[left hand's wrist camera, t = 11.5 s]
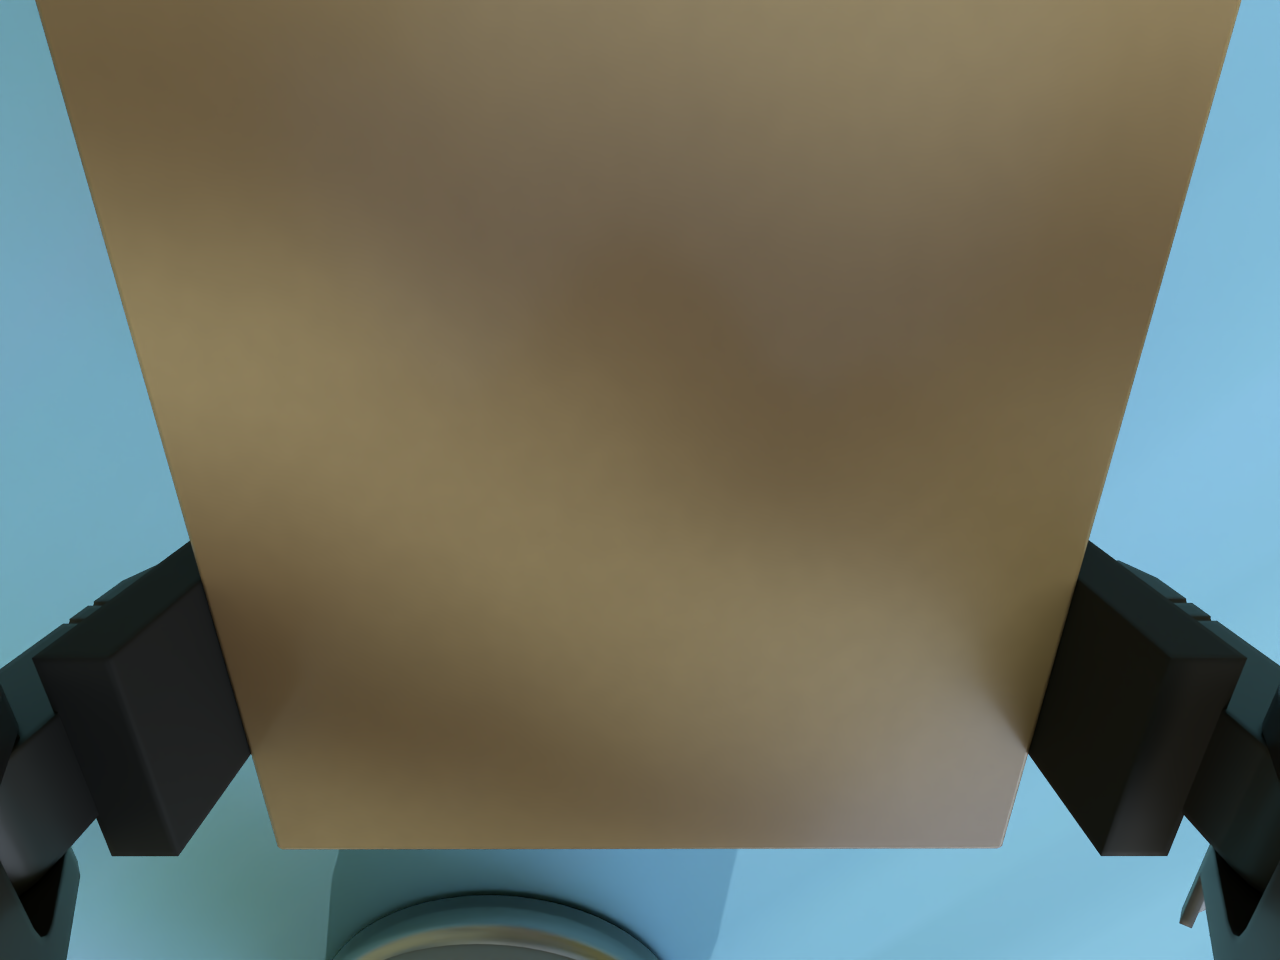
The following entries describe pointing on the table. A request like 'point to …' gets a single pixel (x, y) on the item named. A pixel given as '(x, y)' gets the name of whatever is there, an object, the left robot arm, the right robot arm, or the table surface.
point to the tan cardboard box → (638, 388)
